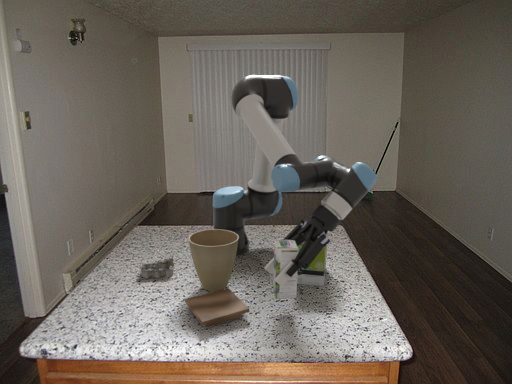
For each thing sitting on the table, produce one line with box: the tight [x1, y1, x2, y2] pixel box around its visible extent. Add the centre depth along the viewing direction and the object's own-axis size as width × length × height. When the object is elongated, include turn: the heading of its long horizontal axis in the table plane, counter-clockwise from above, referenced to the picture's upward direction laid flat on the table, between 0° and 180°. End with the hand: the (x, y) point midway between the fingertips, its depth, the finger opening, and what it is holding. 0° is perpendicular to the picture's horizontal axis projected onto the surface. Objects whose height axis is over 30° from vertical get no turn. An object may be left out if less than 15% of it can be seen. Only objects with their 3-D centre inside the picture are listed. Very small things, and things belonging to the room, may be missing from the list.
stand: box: [184, 287, 250, 329], centre depth 105 cm, size 13×13×3 cm
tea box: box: [297, 231, 329, 287], centre depth 127 cm, size 15×10×15 cm
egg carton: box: [139, 257, 175, 279], centre depth 130 cm, size 11×8×4 cm
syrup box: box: [272, 239, 298, 300], centre depth 105 cm, size 6×6×14 cm
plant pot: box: [188, 228, 239, 292], centre depth 120 cm, size 15×15×16 cm
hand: (272, 277), depth 104 cm, fingers closed on syrup box, 7 cm apart
